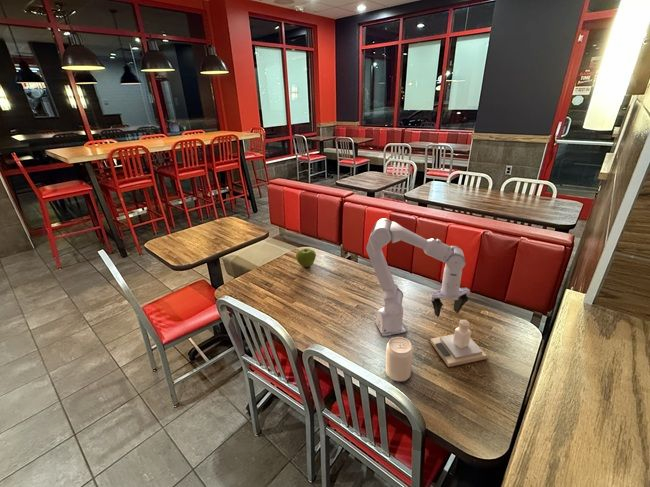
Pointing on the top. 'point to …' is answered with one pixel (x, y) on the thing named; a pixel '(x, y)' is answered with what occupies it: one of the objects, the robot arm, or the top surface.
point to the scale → (457, 351)
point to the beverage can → (399, 358)
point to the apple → (306, 257)
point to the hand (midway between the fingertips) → (446, 313)
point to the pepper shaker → (462, 334)
